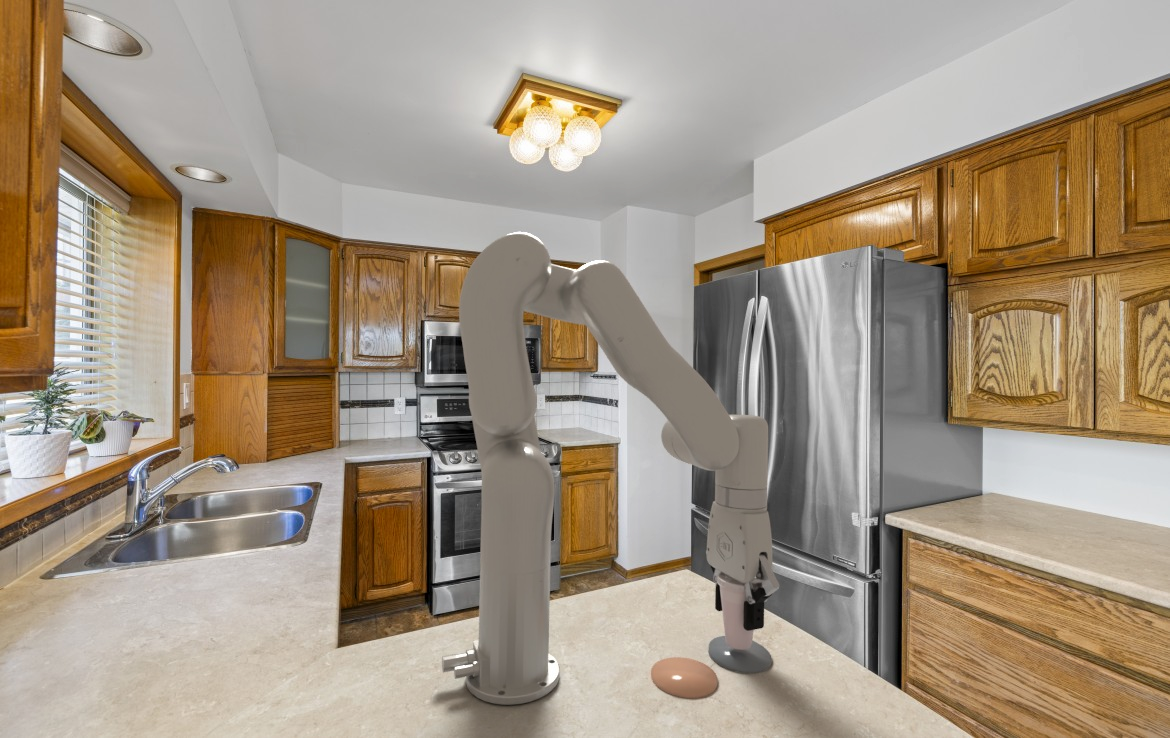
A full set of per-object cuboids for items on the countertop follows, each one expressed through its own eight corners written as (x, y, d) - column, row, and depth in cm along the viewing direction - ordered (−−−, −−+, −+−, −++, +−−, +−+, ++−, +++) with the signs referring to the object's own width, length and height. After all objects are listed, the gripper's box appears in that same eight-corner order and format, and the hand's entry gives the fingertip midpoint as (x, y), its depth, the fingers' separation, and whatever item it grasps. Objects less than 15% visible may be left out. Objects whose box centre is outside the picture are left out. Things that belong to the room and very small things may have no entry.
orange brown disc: (672, 706, 66) (672, 700, 66) (639, 669, 74) (639, 663, 74) (731, 692, 69) (731, 686, 69) (693, 658, 78) (693, 652, 78)
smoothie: (763, 656, 74) (764, 556, 75) (717, 651, 75) (718, 553, 76) (758, 636, 80) (758, 544, 81) (715, 631, 82) (716, 540, 82)
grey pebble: (781, 675, 74) (782, 670, 74) (719, 674, 73) (719, 669, 73) (757, 641, 83) (757, 636, 83) (701, 639, 82) (701, 634, 82)
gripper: (687, 487, 85) (685, 599, 84) (760, 513, 69) (758, 651, 69) (725, 485, 88) (723, 593, 87) (803, 509, 72) (801, 641, 71)
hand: (738, 617), depth 78 cm, fingers closed on smoothie, 5 cm apart
